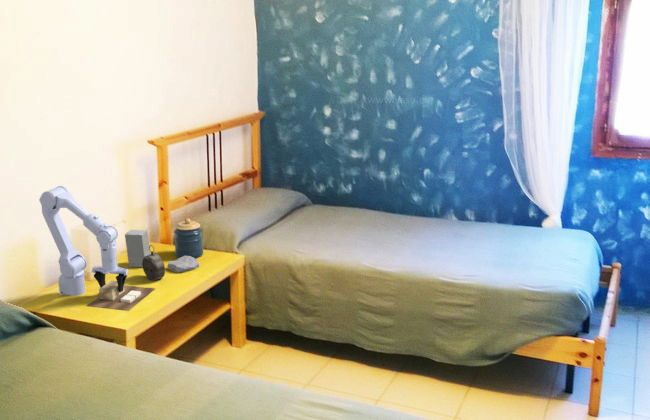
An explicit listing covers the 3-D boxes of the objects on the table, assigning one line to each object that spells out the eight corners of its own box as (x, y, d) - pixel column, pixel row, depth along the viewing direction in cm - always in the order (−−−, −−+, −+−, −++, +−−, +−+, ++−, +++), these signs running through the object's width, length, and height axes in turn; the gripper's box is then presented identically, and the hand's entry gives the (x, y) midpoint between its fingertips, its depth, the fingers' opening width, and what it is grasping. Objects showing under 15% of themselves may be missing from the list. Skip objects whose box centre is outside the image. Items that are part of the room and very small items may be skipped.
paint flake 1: (120, 301, 267) (120, 299, 267) (125, 297, 271) (125, 294, 270) (130, 302, 266) (130, 300, 266) (135, 298, 270) (135, 296, 269)
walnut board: (85, 309, 263) (85, 305, 263) (115, 287, 284) (115, 284, 284) (129, 314, 260) (128, 310, 259) (155, 292, 280) (155, 288, 280)
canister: (193, 248, 331) (192, 212, 326) (209, 255, 322) (207, 218, 317) (169, 254, 323) (167, 218, 318) (184, 261, 313) (182, 224, 308)
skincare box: (151, 263, 312) (149, 229, 307) (144, 268, 305) (142, 234, 300) (134, 261, 313) (131, 228, 309) (126, 267, 306) (124, 233, 302)
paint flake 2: (126, 297, 271) (126, 294, 271) (131, 293, 275) (131, 290, 275) (136, 298, 270) (135, 295, 270) (141, 294, 274) (140, 291, 274)
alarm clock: (166, 283, 289) (164, 246, 284) (155, 286, 285) (153, 249, 281) (151, 276, 296) (149, 240, 292) (140, 279, 292) (138, 243, 288)
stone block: (201, 270, 308) (186, 261, 314) (202, 261, 306) (187, 252, 312) (180, 279, 300) (165, 269, 305) (181, 269, 297) (166, 260, 303)
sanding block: (99, 299, 269) (99, 289, 267) (111, 290, 277) (111, 280, 276) (113, 301, 267) (112, 290, 266) (124, 292, 276) (123, 281, 275)
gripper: (86, 259, 266) (90, 292, 269) (121, 263, 262) (123, 296, 266) (96, 253, 272) (99, 285, 276) (130, 256, 269) (132, 289, 273)
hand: (112, 290), depth 272 cm, fingers open, 7 cm apart
